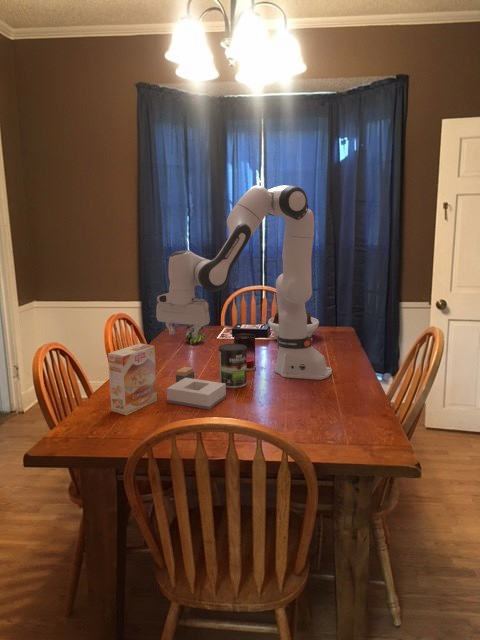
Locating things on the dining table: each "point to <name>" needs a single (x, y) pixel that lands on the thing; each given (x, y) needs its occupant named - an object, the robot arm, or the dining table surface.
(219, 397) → the socket
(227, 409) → the dining table surface
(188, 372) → the plug
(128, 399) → the coffeecake box
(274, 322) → the white round bowl
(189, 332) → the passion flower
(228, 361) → the coffee can
